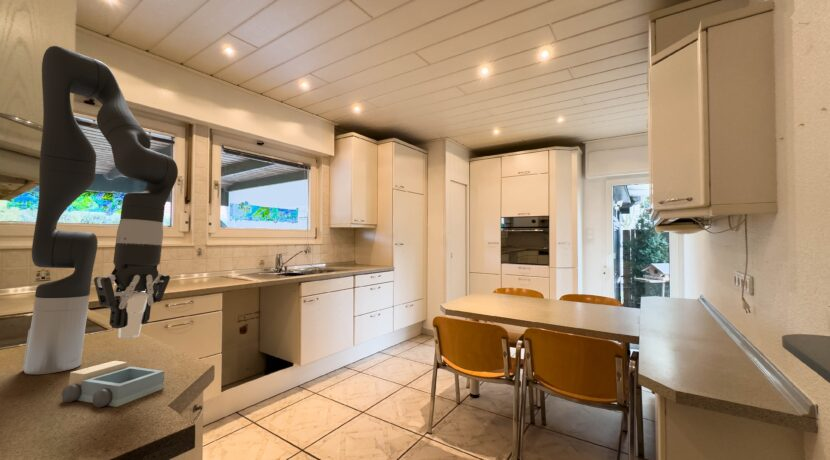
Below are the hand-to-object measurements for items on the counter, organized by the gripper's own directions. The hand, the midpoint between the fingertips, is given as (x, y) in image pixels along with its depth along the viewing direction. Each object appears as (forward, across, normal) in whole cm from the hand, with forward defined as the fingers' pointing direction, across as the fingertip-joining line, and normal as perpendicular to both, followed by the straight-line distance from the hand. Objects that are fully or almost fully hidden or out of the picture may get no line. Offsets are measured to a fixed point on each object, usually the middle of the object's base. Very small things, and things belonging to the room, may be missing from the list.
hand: (129, 325), depth 68 cm
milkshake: (+2, 0, 0) cm, 2 cm away
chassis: (+14, 0, +2) cm, 14 cm away
